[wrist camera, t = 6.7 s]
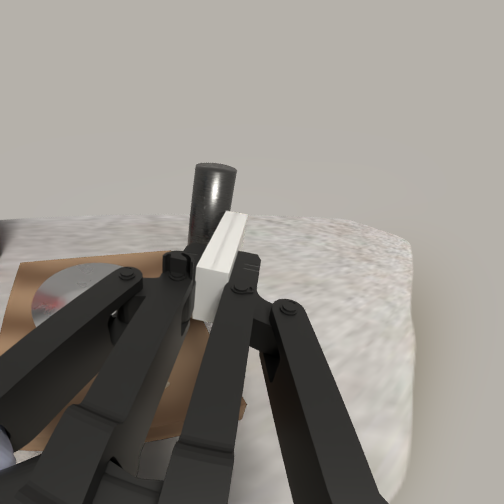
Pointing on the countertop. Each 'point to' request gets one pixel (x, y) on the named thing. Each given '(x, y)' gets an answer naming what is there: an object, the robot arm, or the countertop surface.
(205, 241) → the silver disc with handle
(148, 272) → the dial base
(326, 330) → the countertop surface
